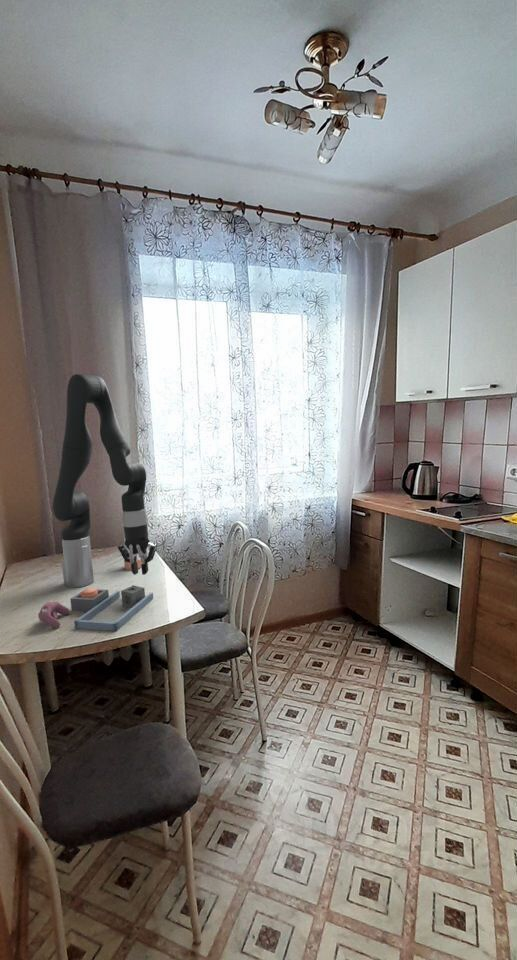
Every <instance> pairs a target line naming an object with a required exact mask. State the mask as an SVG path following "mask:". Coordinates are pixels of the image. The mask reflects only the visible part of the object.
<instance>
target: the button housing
mask: <svg viewBox="0 0 517 960" xmlns="http://www.w3.org/2000/svg"><path fill="white" fill-rule="evenodd" d="M86 589H87V588H84V589H83V590H82V591H80V592H79V593H77V594H75V595H73V596H72V597H70V609H71V611H72V612H80V613H81V612H83V613H87V612H88V611H89V610H91V609H92V608H94V607H95V606H96V605H98V604H99V603H101V602H102V601H103V600H105V599H106V598H108V597H109V596H110V594H109V593H110V592H109V589H98V588H96V589H97V590H98V595H97V596H95V597H94V598H81V592H83V591H84V590H86Z"/></svg>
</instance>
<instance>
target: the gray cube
mask: <svg viewBox="0 0 517 960" xmlns="http://www.w3.org/2000/svg"><path fill="white" fill-rule="evenodd" d="M145 590H146V589H145V587H141V586H137V585H131V586H129V587H127V588H125V589H122V590H120V597H121V603H122V606H123V607H125V608H129V609H131V608H132V607H133V606H135V605H136V604H137V603H138V602H139V601H141V600H142V599H143V598H144V597H145V596H146V592H145Z"/></svg>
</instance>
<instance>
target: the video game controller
mask: <svg viewBox="0 0 517 960" xmlns="http://www.w3.org/2000/svg"><path fill="white" fill-rule="evenodd" d="M70 613H71V612H70V609H69V607H67V606H64V605H63V604H61V603H60V602H59V601H56V600H54V599H53V600H51V601H48V602H45V603H44V604H43V605H42V606H41V608H40V611H39V612H38V613H37V614H38V615H37V616H38V620H39V622H42V624H45V625H47V626H49V627H50V628H53V629H58V628H60V626H61V623H60V621H59V614H60V615H62V616H68V615H70Z"/></svg>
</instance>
